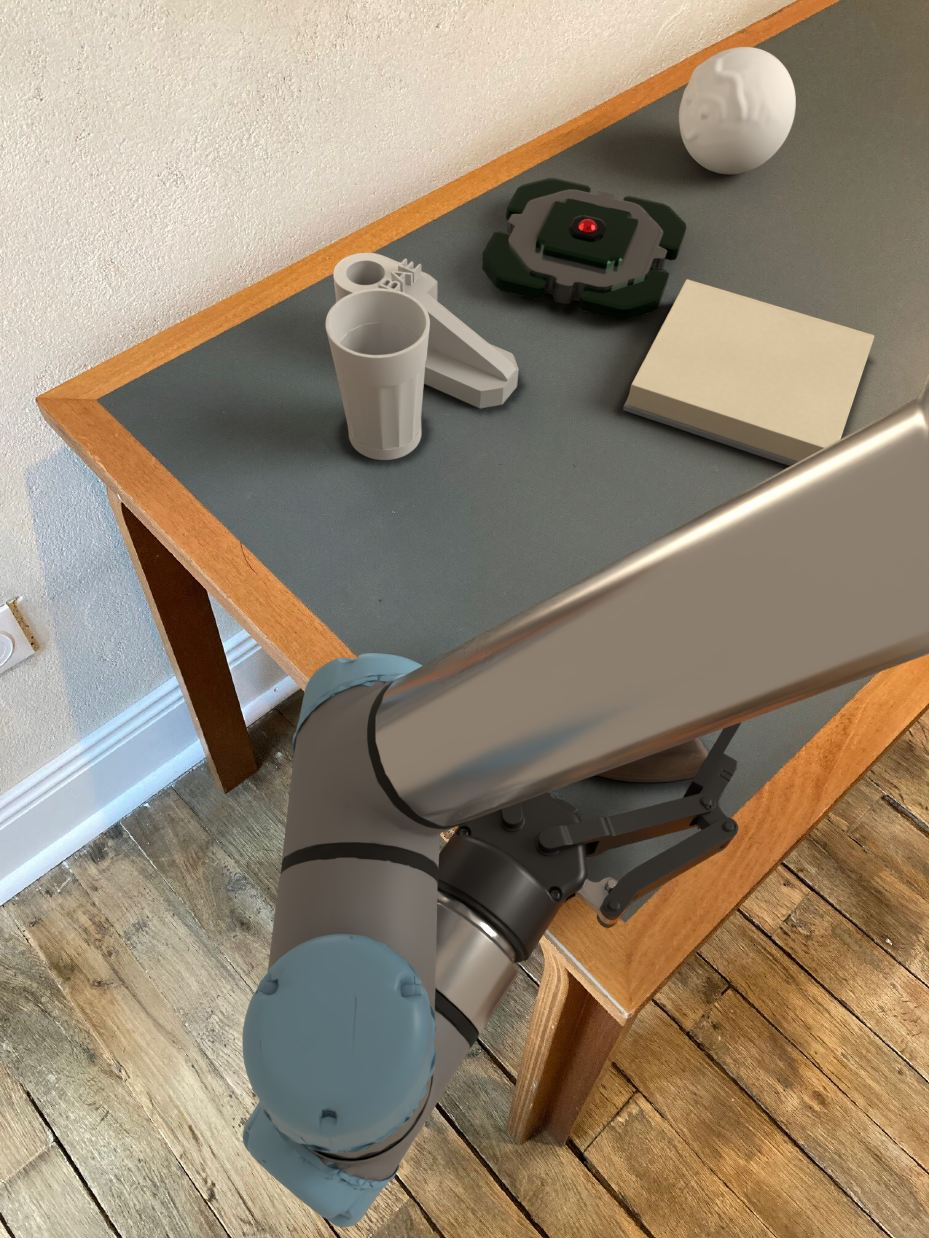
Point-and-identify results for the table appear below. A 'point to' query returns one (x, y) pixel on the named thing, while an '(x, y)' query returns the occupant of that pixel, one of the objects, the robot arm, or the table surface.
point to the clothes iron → (663, 765)
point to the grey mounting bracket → (437, 332)
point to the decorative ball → (737, 110)
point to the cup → (380, 368)
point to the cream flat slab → (750, 374)
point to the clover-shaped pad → (585, 248)
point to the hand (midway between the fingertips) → (646, 662)
